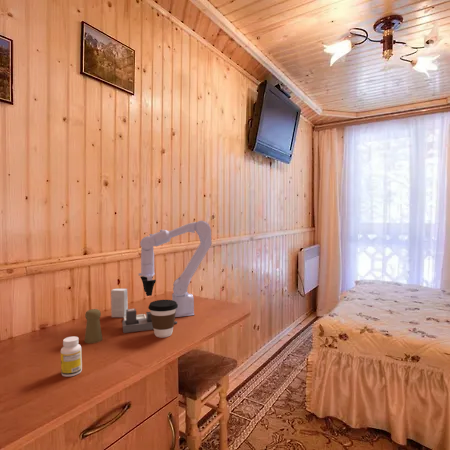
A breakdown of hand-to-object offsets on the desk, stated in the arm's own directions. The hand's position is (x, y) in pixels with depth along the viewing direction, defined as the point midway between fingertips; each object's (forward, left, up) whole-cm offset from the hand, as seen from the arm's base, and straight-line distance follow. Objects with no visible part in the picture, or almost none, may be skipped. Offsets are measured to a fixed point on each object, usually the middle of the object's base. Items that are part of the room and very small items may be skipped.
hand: (148, 293), depth 145 cm
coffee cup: (-3, +26, -10) cm, 28 cm away
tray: (+6, +5, -10) cm, 12 cm away
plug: (+8, +15, -10) cm, 20 cm away
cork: (+22, +22, -10) cm, 33 cm away
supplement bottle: (+27, +46, -10) cm, 54 cm away
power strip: (+1, +15, -10) cm, 18 cm away
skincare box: (+12, -4, -10) cm, 16 cm away
